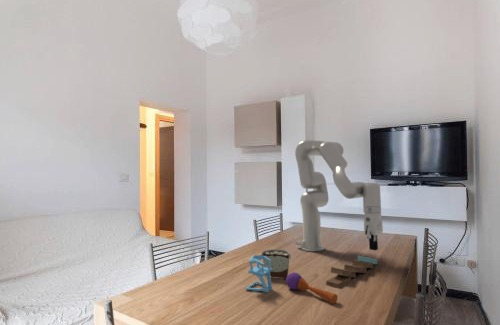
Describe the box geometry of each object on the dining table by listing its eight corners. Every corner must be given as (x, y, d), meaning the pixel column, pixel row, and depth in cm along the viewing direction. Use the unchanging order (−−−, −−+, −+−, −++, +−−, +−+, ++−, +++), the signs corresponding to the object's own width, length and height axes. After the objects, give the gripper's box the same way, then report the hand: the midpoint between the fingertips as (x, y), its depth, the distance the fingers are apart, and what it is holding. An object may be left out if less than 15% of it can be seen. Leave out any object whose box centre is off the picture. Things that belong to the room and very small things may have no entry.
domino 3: (366, 272, 123) (356, 272, 116) (354, 270, 126) (344, 269, 119) (366, 267, 123) (356, 267, 116) (355, 265, 127) (344, 264, 120)
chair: (265, 295, 103) (264, 260, 103) (245, 290, 107) (245, 257, 108) (275, 287, 110) (274, 255, 110) (256, 283, 114) (255, 252, 114)
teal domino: (377, 264, 133) (368, 262, 126) (366, 262, 136) (357, 260, 129) (377, 259, 133) (369, 257, 126) (366, 257, 136) (357, 255, 130)
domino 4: (372, 268, 128) (364, 267, 121) (361, 265, 131) (352, 265, 124) (372, 263, 128) (364, 262, 121) (361, 261, 132) (352, 260, 125)
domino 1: (355, 277, 117) (342, 275, 111) (343, 274, 121) (330, 272, 115) (355, 272, 118) (342, 269, 111) (344, 269, 121) (331, 267, 115)
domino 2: (351, 282, 115) (338, 289, 107) (339, 279, 118) (326, 286, 111) (350, 276, 115) (338, 284, 108) (339, 274, 118) (326, 281, 111)
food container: (294, 274, 123) (293, 250, 123) (291, 279, 117) (290, 254, 118) (265, 271, 127) (265, 248, 128) (261, 276, 121) (261, 252, 122)
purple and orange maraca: (328, 295, 93) (282, 274, 108) (329, 312, 94) (283, 289, 109) (338, 286, 97) (292, 267, 112) (340, 303, 97) (294, 282, 113)
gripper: (373, 212, 128) (375, 254, 127) (386, 208, 138) (388, 247, 138) (356, 210, 133) (358, 251, 133) (371, 207, 144) (372, 245, 143)
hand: (373, 249), depth 135 cm, fingers closed
